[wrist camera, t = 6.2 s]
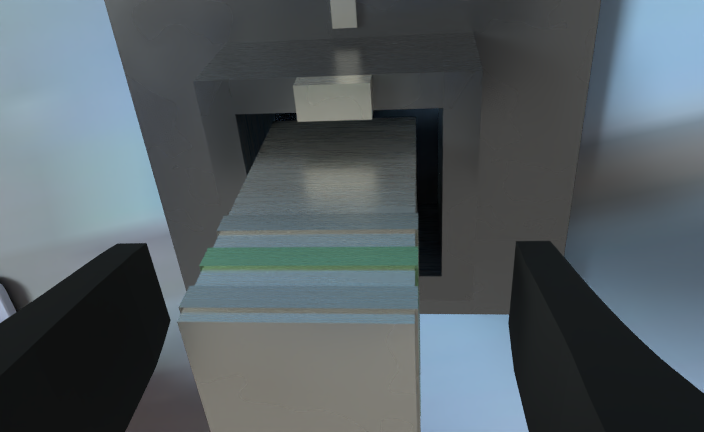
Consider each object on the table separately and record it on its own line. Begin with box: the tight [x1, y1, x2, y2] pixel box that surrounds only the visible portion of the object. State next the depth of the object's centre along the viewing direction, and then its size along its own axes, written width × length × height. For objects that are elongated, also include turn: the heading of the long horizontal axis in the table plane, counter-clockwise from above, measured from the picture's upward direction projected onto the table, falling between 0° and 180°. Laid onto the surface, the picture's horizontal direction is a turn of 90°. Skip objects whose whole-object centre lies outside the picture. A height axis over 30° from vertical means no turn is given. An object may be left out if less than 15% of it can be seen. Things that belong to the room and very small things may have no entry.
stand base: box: [104, 0, 601, 314], centre depth 16 cm, size 12×12×4 cm
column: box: [177, 117, 421, 432], centre depth 12 cm, size 4×4×7 cm
